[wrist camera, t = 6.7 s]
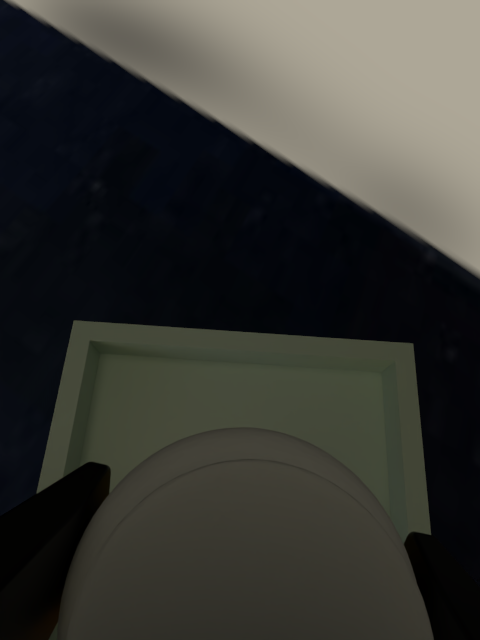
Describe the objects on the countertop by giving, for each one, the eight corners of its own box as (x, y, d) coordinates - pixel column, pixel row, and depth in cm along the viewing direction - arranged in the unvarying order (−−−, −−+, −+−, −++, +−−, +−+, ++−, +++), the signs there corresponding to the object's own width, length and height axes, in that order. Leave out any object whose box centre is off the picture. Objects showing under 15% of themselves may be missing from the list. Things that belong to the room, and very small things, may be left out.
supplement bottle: (187, 440, 15) (137, 324, 6) (343, 508, 15) (558, 496, 5) (106, 620, 13) (-166, 874, 4) (284, 708, 13) (469, 1264, 3)
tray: (426, 826, 15) (464, 884, 13) (-2, 803, 15) (-43, 858, 12) (392, 361, 21) (413, 343, 19) (89, 341, 21) (73, 320, 19)
